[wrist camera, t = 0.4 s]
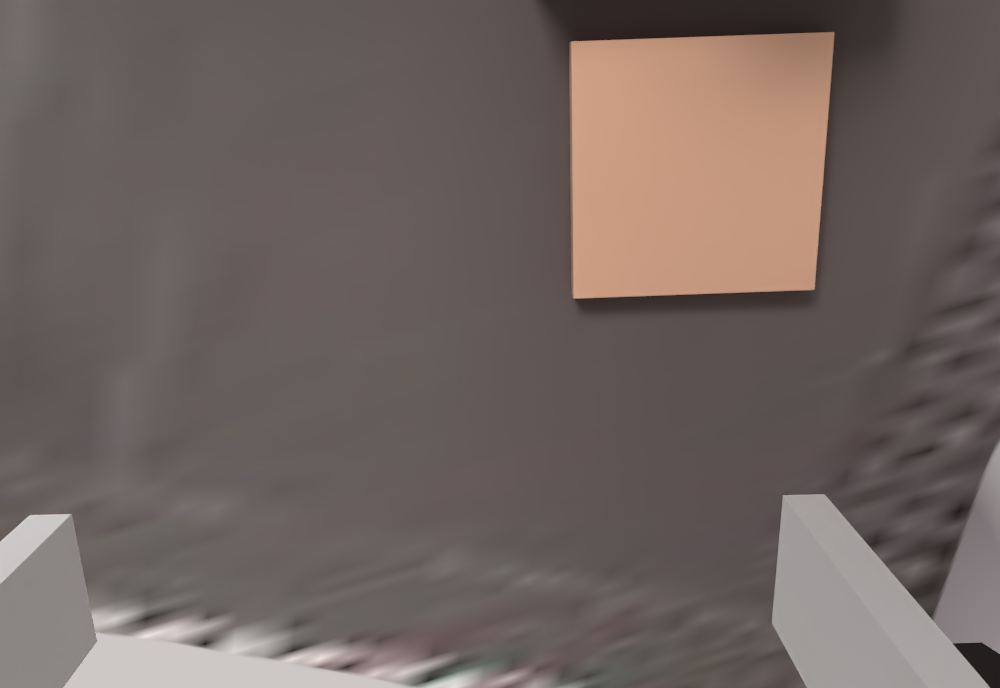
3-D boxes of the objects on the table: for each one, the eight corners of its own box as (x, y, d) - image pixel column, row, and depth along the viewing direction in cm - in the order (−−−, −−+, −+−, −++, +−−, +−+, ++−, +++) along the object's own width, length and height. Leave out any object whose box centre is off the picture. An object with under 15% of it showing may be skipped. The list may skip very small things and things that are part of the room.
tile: (569, 43, 37) (571, 41, 36) (825, 33, 37) (834, 32, 36) (571, 294, 41) (573, 298, 40) (806, 285, 41) (814, 289, 40)
